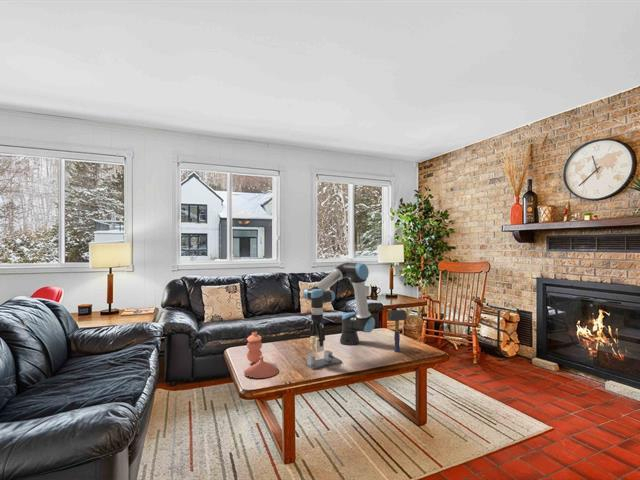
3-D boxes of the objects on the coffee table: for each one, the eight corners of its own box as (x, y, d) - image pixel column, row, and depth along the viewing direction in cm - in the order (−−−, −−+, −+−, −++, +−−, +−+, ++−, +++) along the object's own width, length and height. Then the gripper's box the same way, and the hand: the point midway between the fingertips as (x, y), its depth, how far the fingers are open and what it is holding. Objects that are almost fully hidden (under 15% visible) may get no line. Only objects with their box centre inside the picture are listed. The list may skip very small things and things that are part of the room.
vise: (305, 364, 222) (305, 353, 222) (333, 358, 234) (333, 348, 234) (313, 369, 214) (313, 358, 214) (342, 362, 225) (342, 352, 225)
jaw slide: (324, 359, 227) (324, 350, 227) (328, 358, 229) (328, 350, 229) (331, 363, 220) (331, 354, 220) (334, 362, 222) (334, 353, 222)
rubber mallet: (402, 349, 252) (402, 308, 253) (407, 353, 245) (407, 310, 245) (386, 351, 249) (386, 309, 250) (391, 354, 242) (391, 311, 242)
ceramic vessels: (283, 374, 206) (283, 343, 206) (247, 380, 198) (247, 347, 198) (268, 356, 238) (268, 329, 238) (237, 360, 230) (237, 332, 230)
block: (310, 348, 223) (310, 336, 223) (317, 347, 226) (317, 335, 226) (316, 352, 216) (317, 339, 216) (323, 350, 219) (323, 338, 219)
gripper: (303, 311, 228) (303, 346, 228) (320, 317, 211) (320, 354, 210) (313, 310, 232) (313, 344, 232) (331, 316, 214) (330, 352, 214)
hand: (316, 349), depth 221 cm, fingers closed on block, 8 cm apart
